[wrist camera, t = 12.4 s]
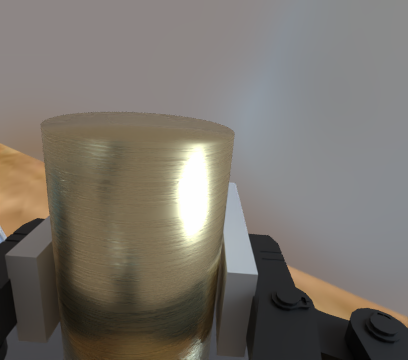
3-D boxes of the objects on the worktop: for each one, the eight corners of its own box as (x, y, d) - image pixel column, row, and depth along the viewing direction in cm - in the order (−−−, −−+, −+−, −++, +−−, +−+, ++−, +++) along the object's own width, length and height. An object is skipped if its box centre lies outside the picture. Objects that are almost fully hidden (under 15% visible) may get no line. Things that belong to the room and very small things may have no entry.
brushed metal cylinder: (49, 458, 11) (1, 117, 7) (141, 369, 14) (146, 109, 10) (134, 576, 8) (138, 161, 4) (220, 436, 12) (265, 131, 8)
